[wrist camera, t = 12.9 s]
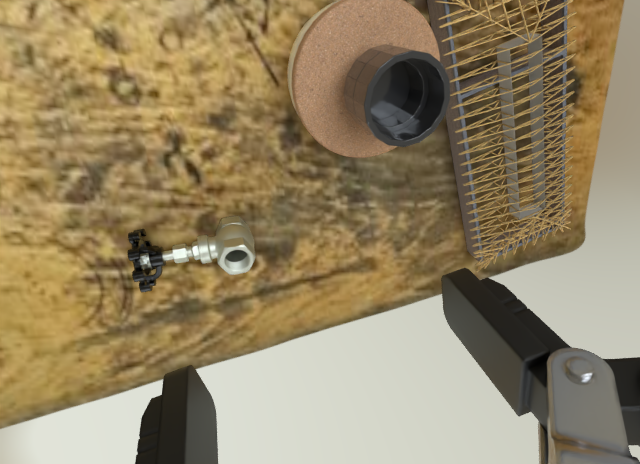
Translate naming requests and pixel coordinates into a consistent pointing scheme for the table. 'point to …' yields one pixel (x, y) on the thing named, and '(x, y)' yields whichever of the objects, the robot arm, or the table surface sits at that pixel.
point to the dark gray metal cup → (397, 94)
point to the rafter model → (511, 123)
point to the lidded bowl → (347, 65)
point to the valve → (195, 251)
